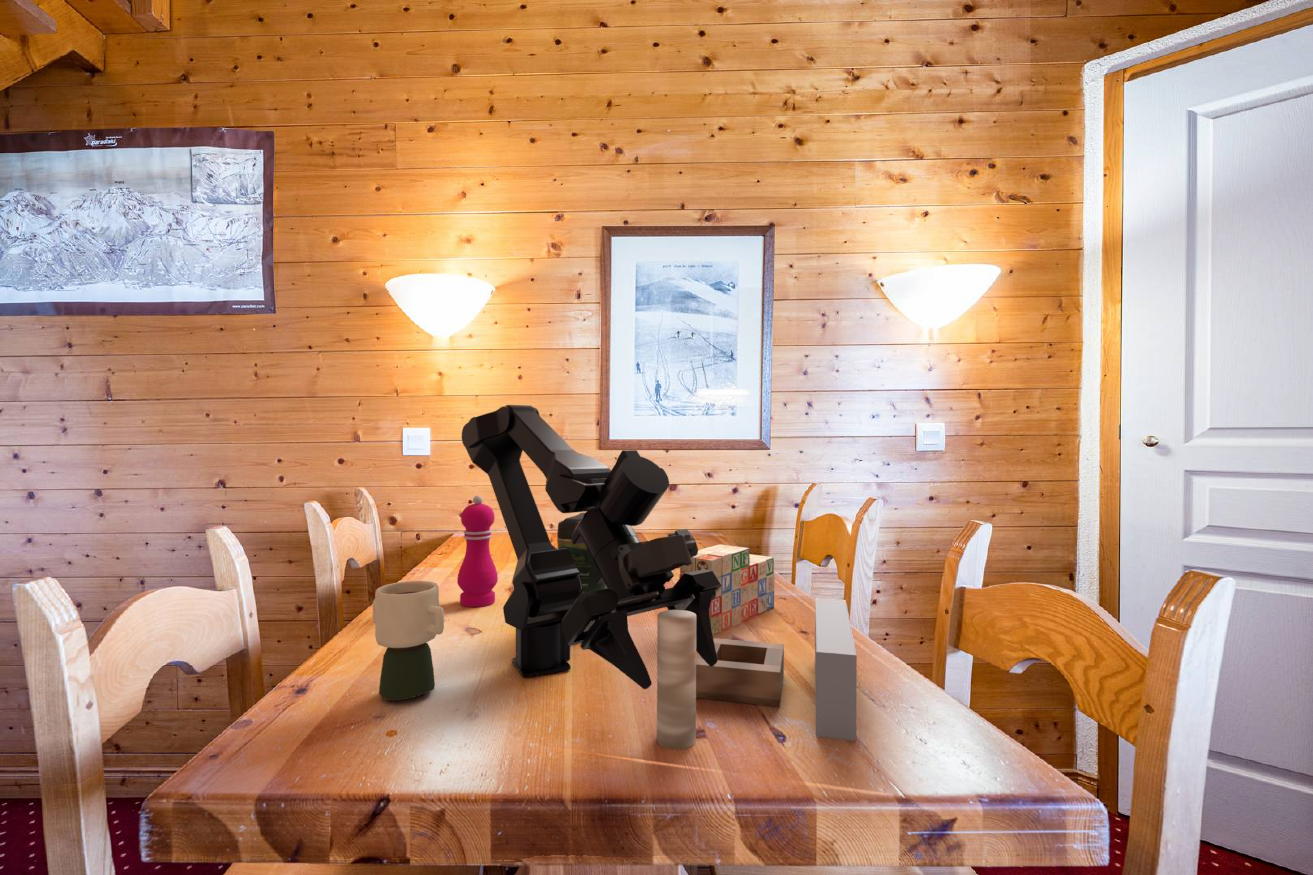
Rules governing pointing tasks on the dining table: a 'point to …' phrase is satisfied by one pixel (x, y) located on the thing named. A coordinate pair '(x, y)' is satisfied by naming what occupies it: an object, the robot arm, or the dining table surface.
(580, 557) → the coffee jar
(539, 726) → the dining table surface
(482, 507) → the pepper mill
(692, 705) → the dowel
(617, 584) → the robot arm
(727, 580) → the stack of blocks
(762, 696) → the socket block
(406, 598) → the character mug
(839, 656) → the board
